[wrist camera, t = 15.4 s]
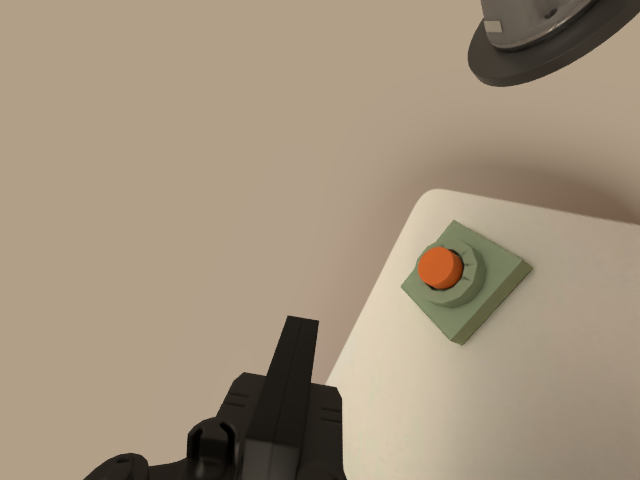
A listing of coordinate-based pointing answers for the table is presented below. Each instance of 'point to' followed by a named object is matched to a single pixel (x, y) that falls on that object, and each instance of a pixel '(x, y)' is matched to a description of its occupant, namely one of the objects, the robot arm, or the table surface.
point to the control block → (467, 283)
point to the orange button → (440, 268)
